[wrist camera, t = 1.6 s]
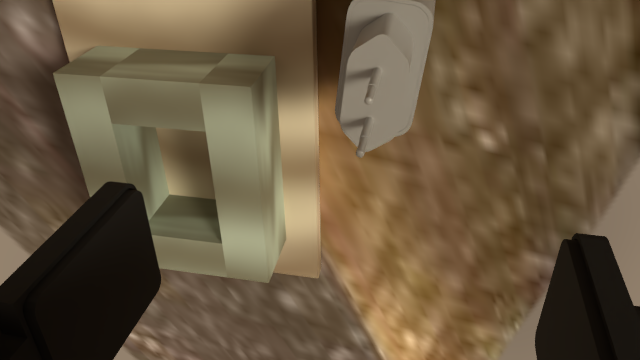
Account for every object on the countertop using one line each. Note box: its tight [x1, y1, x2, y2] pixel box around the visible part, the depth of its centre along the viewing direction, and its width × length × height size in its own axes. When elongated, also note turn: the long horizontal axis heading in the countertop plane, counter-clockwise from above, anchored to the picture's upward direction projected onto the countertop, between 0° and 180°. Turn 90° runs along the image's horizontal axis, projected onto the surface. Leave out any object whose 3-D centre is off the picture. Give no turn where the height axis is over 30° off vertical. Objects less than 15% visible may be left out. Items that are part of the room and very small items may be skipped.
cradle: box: [52, 0, 321, 283], centre depth 30 cm, size 18×14×5 cm
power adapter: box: [335, 0, 435, 157], centre depth 21 cm, size 3×5×12 cm, turn 174°
